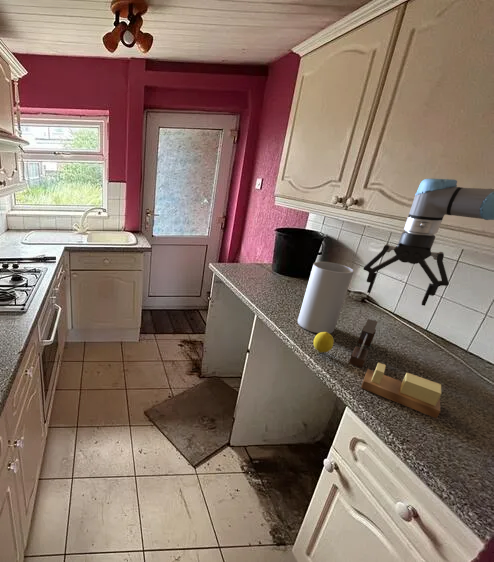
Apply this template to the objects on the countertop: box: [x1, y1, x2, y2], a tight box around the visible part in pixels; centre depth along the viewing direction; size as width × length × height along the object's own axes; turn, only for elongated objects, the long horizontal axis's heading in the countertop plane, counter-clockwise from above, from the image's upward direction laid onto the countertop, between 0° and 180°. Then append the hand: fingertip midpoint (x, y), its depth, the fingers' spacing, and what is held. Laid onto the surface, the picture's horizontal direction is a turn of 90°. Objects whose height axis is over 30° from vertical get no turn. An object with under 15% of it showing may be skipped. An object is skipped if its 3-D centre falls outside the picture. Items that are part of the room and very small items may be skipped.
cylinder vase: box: [297, 261, 355, 335], centre depth 118 cm, size 12×12×25 cm
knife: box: [357, 318, 378, 358], centre depth 104 cm, size 3×21×6 cm, turn 136°
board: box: [360, 368, 441, 419], centre depth 87 cm, size 16×8×2 cm, turn 46°
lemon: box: [312, 332, 335, 354], centre depth 105 cm, size 6×6×8 cm
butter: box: [400, 372, 442, 406], centre depth 84 cm, size 7×5×4 cm
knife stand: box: [348, 325, 377, 369], centre depth 105 cm, size 4×20×6 cm, turn 136°
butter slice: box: [372, 362, 387, 384], centre depth 89 cm, size 2×5×4 cm, turn 137°
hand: (394, 297), depth 100 cm, fingers open, 13 cm apart
